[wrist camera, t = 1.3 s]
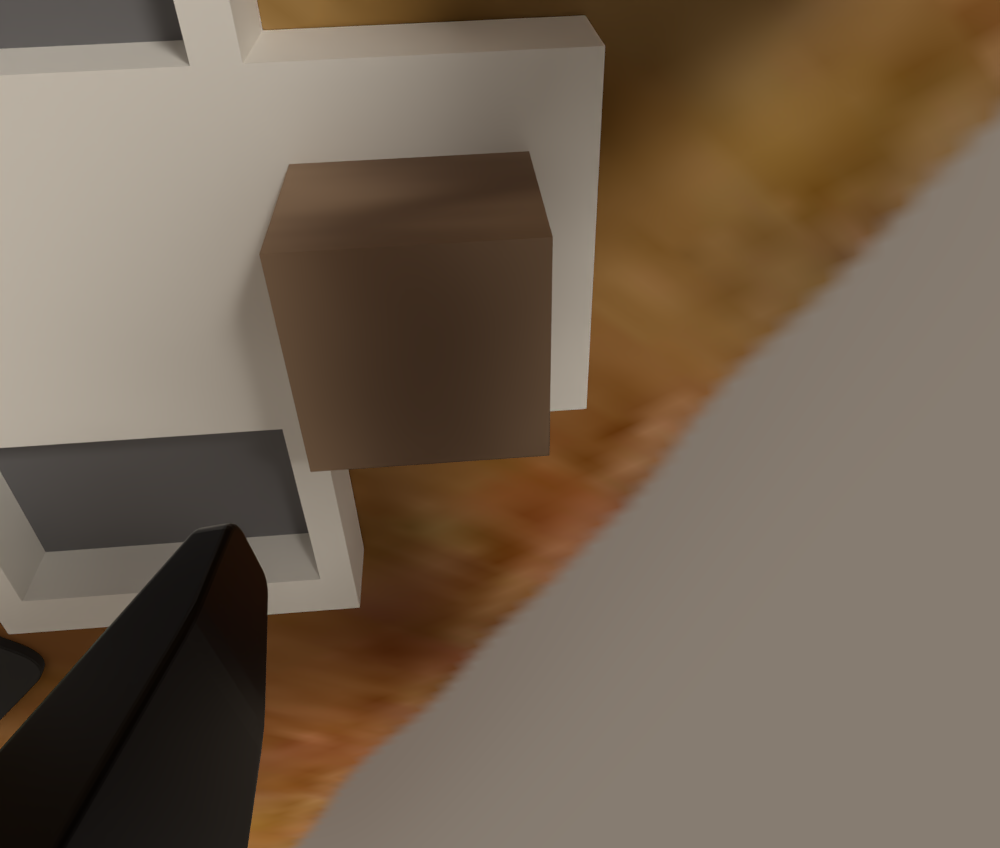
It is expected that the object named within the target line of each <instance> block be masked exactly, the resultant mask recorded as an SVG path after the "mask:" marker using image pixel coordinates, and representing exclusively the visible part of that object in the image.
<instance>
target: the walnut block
mask: <svg viewBox="0 0 1000 848" xmlns="http://www.w3.org/2000/svg"><path fill="white" fill-rule="evenodd" d="M259 256H260V260H261V264H262V268H263V273H264V277H265V281H266V285H267V290H268V294H269V298H270V302H271V306H272V311H273V315H274V319H275V323H276V328H277V332H278V336H279V340H280V345H281V349H282V353H283V357H284V362H285V366H286V370H287V374H288V379H289V383H290V387H291V391H292V395H293V400H294V404H295V408H296V412H297V417H298V421H299V425H300V429H301V434H302V438H303V442H304V446H305V451H306V455H307V459H308V463H309V468H310V472H318V471H332V470H346V469H361V468H375V467H390V466H404V465H418V464H433V463H447V462H462V461H476V460H490V459H505V458H519V457H534V456H548V455H549V446H550V384H551V322H552V260H553V236H552V232H551V229H550V225H549V221H548V218H547V214H546V211H545V207H544V203H543V200H542V196H541V192H540V189H539V185H538V182H537V178H536V174H535V171H534V167H533V164H532V160H531V156H530V153H529V151H524V152H506V153H487V154H468V155H450V156H431V157H413V158H394V159H376V160H357V161H339V162H320V163H301V164H289V166H288V169H287V172H286V175H285V178H284V181H283V184H282V187H281V190H280V193H279V196H278V199H277V202H276V205H275V208H274V211H273V214H272V217H271V220H270V223H269V226H268V229H267V232H266V235H265V238H264V241H263V244H262V247H261V250H260V253H259Z"/></svg>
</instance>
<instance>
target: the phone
mask: <svg viewBox="0 0 1000 848" xmlns="http://www.w3.org/2000/svg"><path fill="white" fill-rule="evenodd" d="M44 667H45V662H44V660H43V658H42V657H41V656H40V655H39V654H38V653H37V652H35V651H34V650H32V649H30V648H28V647H26V646H24V645H21V644H19V643H16V642H13V641H11V640H8V639H5V638H3V637H0V720H1V719H2V718H3V717H4V715H5V714H6V713H7V712H8V711H9V710H10V709H11V708H12V707H13V706H14V705H15V704H16V703H17V702H18V701H19V700H20V699H21V698H22V697H23V696H24V695H25V694H26V693H27V692H28V691H29V690H30V689H31V688H32V687H33V686H34V684H35V683H36V682H37V681H38V680H39V679H40V677H41V675H42V672H43V670H44Z"/></svg>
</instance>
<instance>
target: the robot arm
mask: <svg viewBox="0 0 1000 848" xmlns="http://www.w3.org/2000/svg"><path fill="white" fill-rule="evenodd" d="M267 616H268V587H267V581H266V577H265V574H264V571H263V569H262V567H261V565H260V564H259V562H258V560H257V558H256V556H255V554H254V552H253V550H252V548H251V546H250V544H249V543H248V541H247V539H246V537H245V535H244V533H243V531H242V530H241V529H240V527H238V526H237V525H236V524H233V523H226V524H220V525H214V526H208V527H202V528H199V529H197V530H195V531H194V532H193V533H191V534H190V535H189V537H188V538H187V539H186V540H185V541H184V542H183V543H182V544H181V546H180V547H179V548H178V549H177V550H176V551H175V552H174V553H173V555H172V556H171V557H170V558H169V559H168V560H167V561H166V563H165V564H164V565H163V566H162V567H161V568H160V569H159V570H158V572H157V573H156V574H155V575H154V576H153V577H152V578H151V579H150V581H149V582H148V583H147V584H146V585H145V586H144V587H143V589H142V590H141V591H140V592H139V593H138V594H137V595H136V596H135V598H134V599H133V600H132V601H131V602H130V603H129V604H128V606H127V607H126V608H125V609H124V610H123V611H122V612H121V613H120V615H119V616H118V617H117V618H116V619H115V620H114V621H113V622H112V624H111V625H110V626H109V627H108V628H107V629H106V630H105V632H104V633H103V634H102V635H101V636H100V637H99V638H98V639H97V641H96V642H95V643H94V644H93V645H92V646H91V647H90V648H89V650H88V651H87V652H86V653H85V654H84V655H83V656H82V658H81V659H80V660H79V661H78V662H77V663H76V664H75V665H74V667H73V668H72V669H71V670H70V671H69V672H68V673H67V674H66V676H65V677H64V678H63V679H62V680H61V681H60V682H59V684H58V685H57V686H56V687H55V688H54V689H53V690H52V691H51V693H50V694H49V695H48V696H47V697H46V698H45V699H44V701H43V702H42V703H41V704H40V705H39V706H38V707H37V708H36V710H35V711H34V712H33V713H32V714H31V715H30V716H29V717H28V719H27V720H26V721H25V722H24V723H23V724H22V725H21V727H20V728H19V729H18V730H17V731H16V732H15V733H14V734H13V736H12V737H11V738H10V739H9V740H8V741H7V742H6V743H5V745H4V746H3V747H2V748H1V749H0V848H247V847H248V840H249V833H250V826H251V819H252V812H253V805H254V798H255V791H256V784H257V777H258V770H259V763H260V756H261V749H262V740H263V732H264V717H265V691H266V653H267Z"/></svg>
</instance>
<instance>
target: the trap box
mask: <svg viewBox="0 0 1000 848" xmlns="http://www.w3.org/2000/svg"><path fill="white" fill-rule="evenodd" d="M604 60H605V45H604V43H603V42H602V40H601V39H600V37H599V36H598V34H597V33H596V31H595V29H594V28H593V26H592V25H591V23H590V22H589V20H588V19H587V17H586V16H585V15H581V16H560V17H539V18H517V19H496V20H475V21H454V22H433V23H411V24H390V25H369V26H348V27H326V28H305V29H284V30H263V29H262V24H261V19H260V14H259V9H258V4H257V0H0V622H1V624H2V625H3V627H4V628H5V630H6V631H7V633H8V634H21V633H34V632H47V631H60V630H73V629H86V628H99V627H109V626H110V625H111V624H112V622H113V621H114V620H115V619H116V618H117V617H118V616H119V615H120V613H121V612H122V611H123V610H124V609H125V608H126V607H127V606H128V604H129V603H130V602H131V601H132V600H133V599H134V598H135V596H136V595H137V594H138V593H139V592H140V591H141V590H142V589H143V587H144V586H145V585H146V584H147V583H148V582H149V581H150V579H151V578H152V577H153V576H154V575H155V574H156V573H157V572H158V570H159V569H160V568H161V567H162V566H163V565H164V564H165V563H166V561H167V560H168V559H169V558H170V557H171V556H172V555H173V553H174V552H175V551H176V550H177V549H178V548H179V547H180V546H181V544H182V543H183V542H184V541H185V540H186V539H187V538H188V537H189V535H190V534H191V533H193V532H194V531H195V530H197V529H199V528H202V527H208V526H214V525H220V524H226V523H233V524H236V525H237V526H238V527H240V529H241V530H242V531H243V533H244V535H245V537H246V539H247V541H248V543H249V544H250V546H251V548H252V550H253V552H254V554H255V556H256V558H257V560H258V562H259V564H260V565H261V567H262V569H263V571H264V574H265V577H266V581H267V587H268V615H269V614H282V613H295V612H308V611H321V610H334V609H348V608H360V597H361V583H362V570H363V556H364V546H363V541H362V536H361V531H360V526H359V521H358V516H357V511H356V505H355V500H354V495H353V490H352V485H351V480H350V475H349V470H348V469H346V470H332V471H318V472H310V468H309V463H308V459H307V455H306V451H305V446H304V442H303V438H302V434H301V429H300V425H299V421H298V417H297V412H296V408H295V404H294V400H293V395H292V391H291V387H290V383H289V379H288V374H287V370H286V366H285V362H284V357H283V353H282V349H281V345H280V340H279V336H278V332H277V328H276V323H275V319H274V315H273V311H272V306H271V302H270V298H269V294H268V290H267V285H266V281H265V277H264V273H263V268H262V264H261V260H260V256H259V253H260V250H261V247H262V244H263V241H264V238H265V235H266V232H267V229H268V226H269V223H270V220H271V217H272V214H273V211H274V208H275V205H276V202H277V199H278V196H279V193H280V190H281V187H282V184H283V181H284V178H285V175H286V172H287V169H288V166H289V164H301V163H320V162H339V161H357V160H376V159H394V158H413V157H431V156H450V155H468V154H487V153H506V152H524V151H529V153H530V156H531V160H532V164H533V167H534V171H535V174H536V178H537V182H538V185H539V189H540V192H541V196H542V200H543V203H544V207H545V211H546V214H547V218H548V221H549V225H550V229H551V232H552V236H553V260H552V322H551V384H550V411H560V410H574V409H586V406H587V387H588V367H589V348H590V329H591V310H592V290H593V271H594V252H595V233H596V214H597V194H598V175H599V156H600V137H601V117H602V98H603V79H604Z"/></svg>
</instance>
